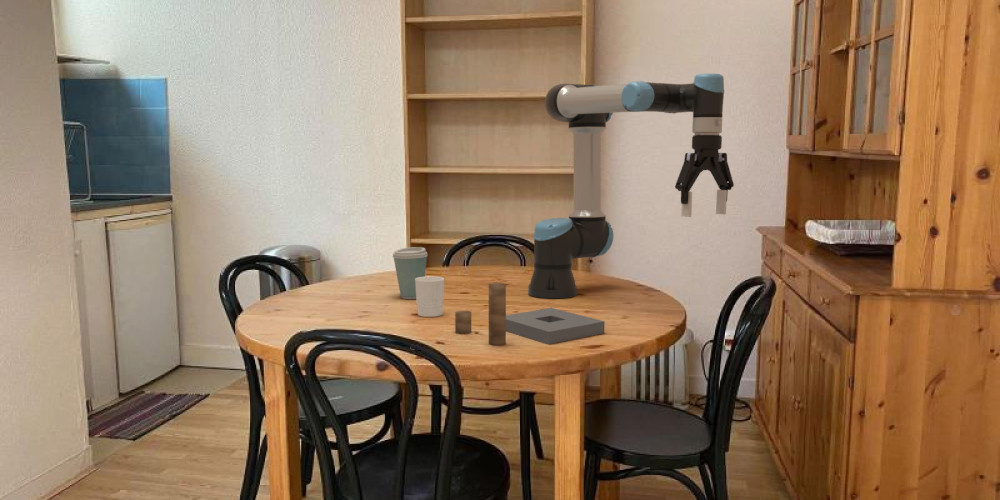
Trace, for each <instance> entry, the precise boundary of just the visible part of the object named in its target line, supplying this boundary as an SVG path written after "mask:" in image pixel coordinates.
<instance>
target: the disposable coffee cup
mask: <svg viewBox="0 0 1000 500" xmlns="http://www.w3.org/2000/svg"><path fill="white" fill-rule="evenodd" d="M428 256H429V255H428V252H427V249H426V248H425V247H421V246H419V247H418V246H416V247H415V246H412V247H404V248H400V249H396V250H394V252H393V253H392V258H393V261H394V266H395V271H396V272H395V273H396V279H397V283H398V288H399V294H400V296H401V299H403V300H417V299H416V285H415V279H416V278H418V277H425V276H426V269H427V268H426V267H427V259H428Z"/></svg>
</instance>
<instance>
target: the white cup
mask: <svg viewBox="0 0 1000 500" xmlns="http://www.w3.org/2000/svg"><path fill="white" fill-rule="evenodd" d="M415 285H416V299H415V300H416V306H417V315H418V317H423V318H424V317H425V318H434V317H435V318H436V317H440V316H442V315H443V313H444V312H443V311H444V310H443V308H444V297H445V292H444V291H445V278H444V277H442V276H436V275H435V276H433V275H432V276H430V275H427V276H426V275H425V277H418V278H416V279H415Z"/></svg>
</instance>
